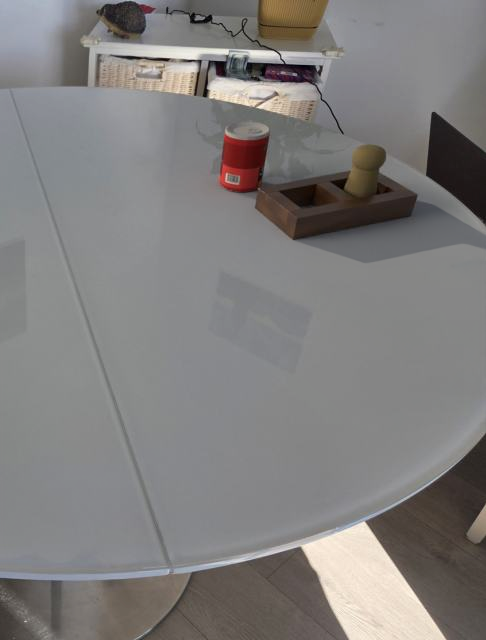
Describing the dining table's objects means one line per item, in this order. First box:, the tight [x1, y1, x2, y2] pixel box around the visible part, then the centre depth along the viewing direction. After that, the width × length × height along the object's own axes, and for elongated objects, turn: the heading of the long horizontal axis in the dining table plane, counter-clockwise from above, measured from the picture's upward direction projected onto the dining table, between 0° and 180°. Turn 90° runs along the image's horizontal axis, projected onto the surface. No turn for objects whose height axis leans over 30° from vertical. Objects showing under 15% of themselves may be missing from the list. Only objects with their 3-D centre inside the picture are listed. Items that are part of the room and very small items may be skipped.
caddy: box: [254, 170, 419, 241], centre depth 112 cm, size 12×22×4 cm, turn 104°
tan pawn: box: [343, 144, 387, 199], centre depth 111 cm, size 6×6×11 cm
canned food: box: [218, 121, 271, 193], centre depth 121 cm, size 8×8×11 cm
